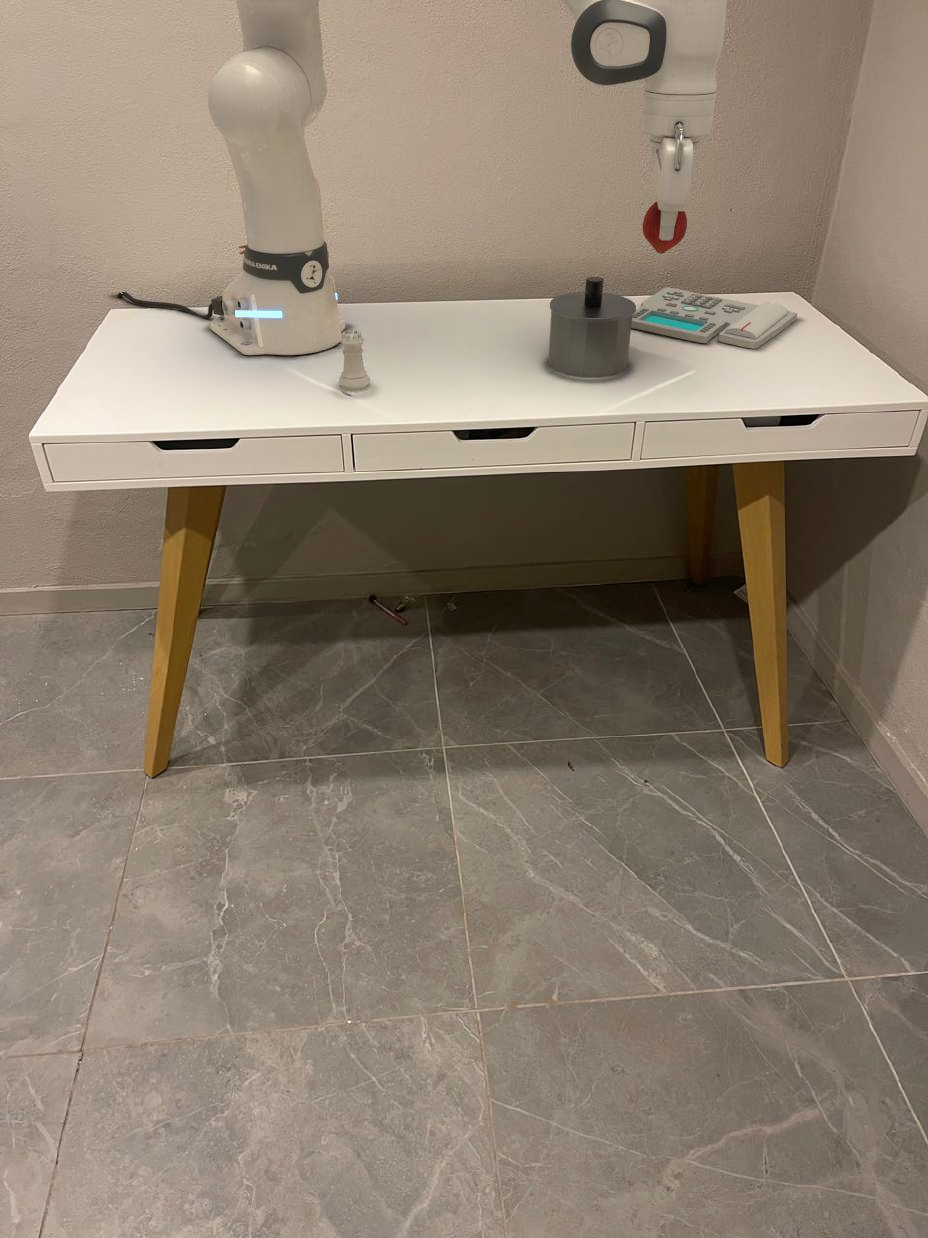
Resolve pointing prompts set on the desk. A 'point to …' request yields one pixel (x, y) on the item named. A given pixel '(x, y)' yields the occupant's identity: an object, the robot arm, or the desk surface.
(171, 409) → the desk surface
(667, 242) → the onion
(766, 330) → the office telephone
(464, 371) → the desk surface
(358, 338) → the rook chess piece
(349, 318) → the desk surface
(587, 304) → the lid
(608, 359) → the pot
